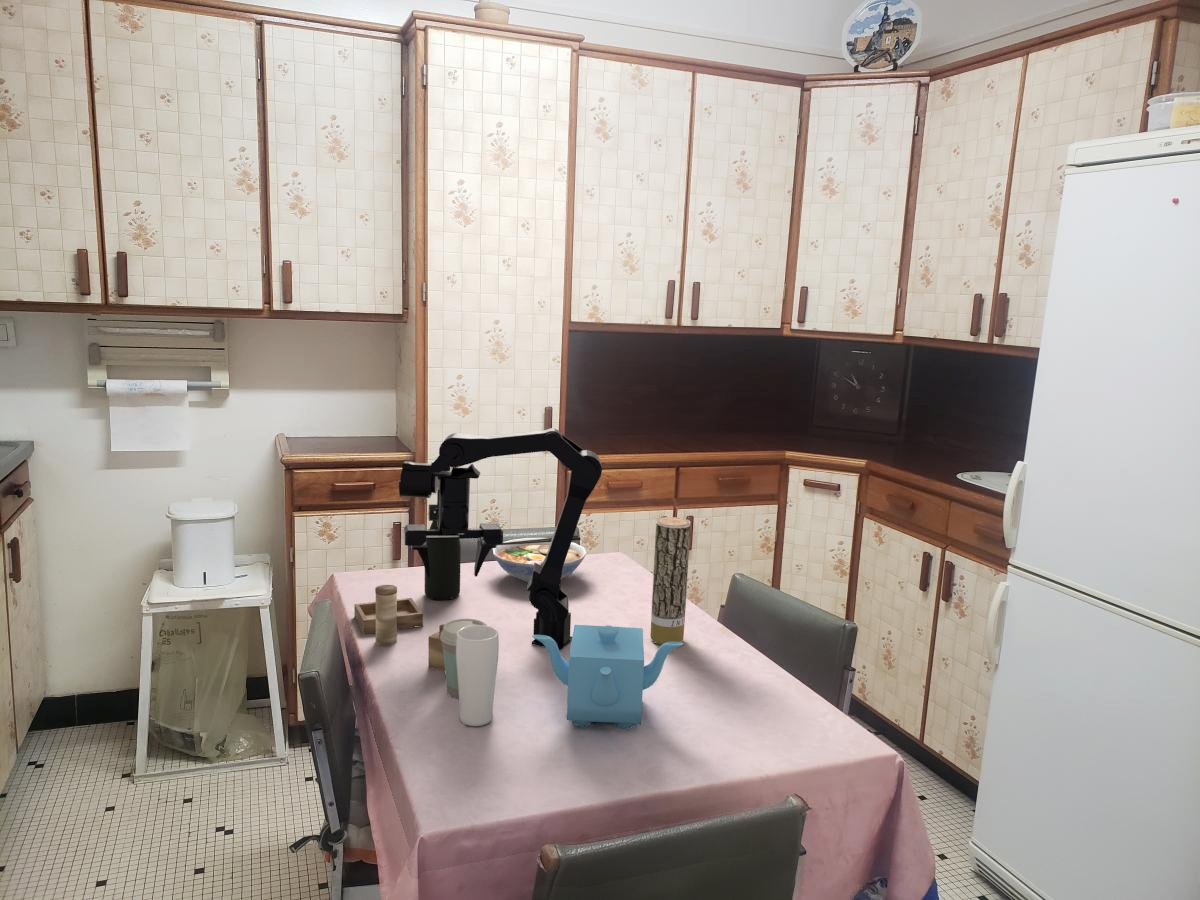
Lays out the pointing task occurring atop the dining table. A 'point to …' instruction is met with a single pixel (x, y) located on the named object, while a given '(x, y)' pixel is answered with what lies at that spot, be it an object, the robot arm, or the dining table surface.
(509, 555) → the ramen bowl
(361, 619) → the walnut tray
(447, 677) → the coffee cup
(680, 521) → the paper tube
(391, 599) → the beech dowel
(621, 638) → the teakettle
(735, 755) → the dining table surface
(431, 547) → the wine bottle
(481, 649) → the drinking glass
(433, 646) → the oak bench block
